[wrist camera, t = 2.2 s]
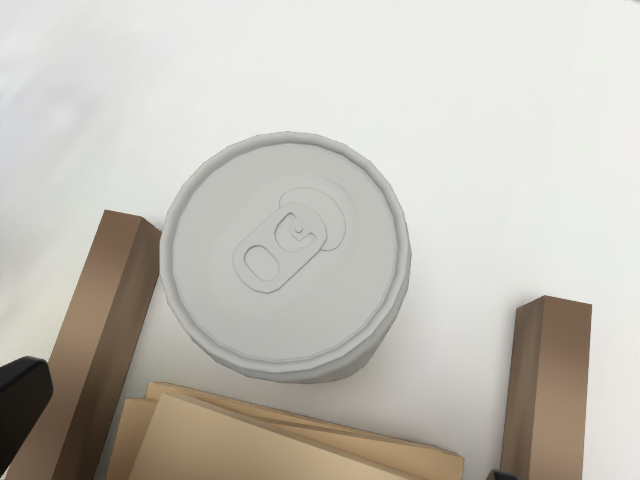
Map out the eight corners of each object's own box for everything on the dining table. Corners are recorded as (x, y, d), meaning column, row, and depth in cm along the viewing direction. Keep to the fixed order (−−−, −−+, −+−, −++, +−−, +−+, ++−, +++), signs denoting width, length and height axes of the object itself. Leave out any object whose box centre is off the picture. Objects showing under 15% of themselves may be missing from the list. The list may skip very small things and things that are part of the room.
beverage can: (404, 326, 20) (475, 244, 8) (320, 410, 19) (270, 448, 7) (324, 247, 21) (290, 80, 9) (243, 323, 20) (99, 241, 9)
